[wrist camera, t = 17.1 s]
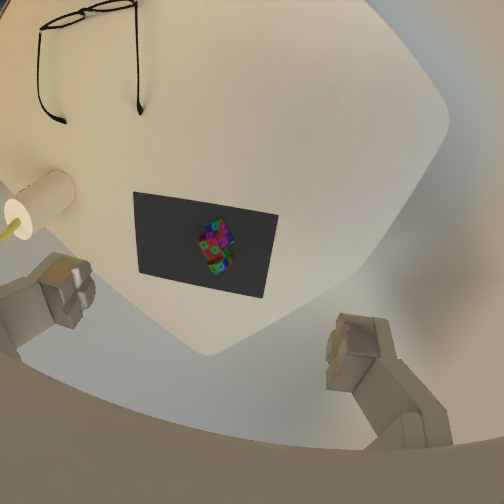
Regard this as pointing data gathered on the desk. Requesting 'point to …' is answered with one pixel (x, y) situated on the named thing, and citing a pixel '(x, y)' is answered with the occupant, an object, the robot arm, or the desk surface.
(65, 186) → the candle
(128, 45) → the desk surface
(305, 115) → the desk surface
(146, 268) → the mat
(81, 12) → the eyeglasses
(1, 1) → the smartphone
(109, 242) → the desk surface
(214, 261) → the block
